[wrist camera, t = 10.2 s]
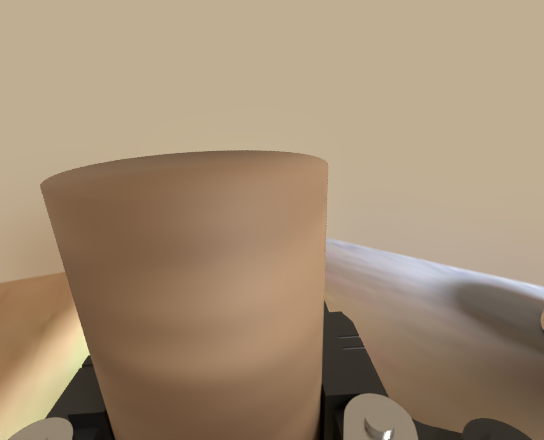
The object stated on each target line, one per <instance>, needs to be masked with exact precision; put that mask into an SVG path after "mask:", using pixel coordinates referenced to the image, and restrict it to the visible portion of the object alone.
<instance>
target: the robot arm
mask: <svg viewBox="0 0 544 440" xmlns="http://www.w3.org/2000/svg"><path fill="white" fill-rule="evenodd" d="M8 440H115V437H114V433H113V430H112V427H111V423H110V420H109V416H108V413H107V410H106V406H105V403H104V400H103V396H102V393H101V390H100V386H99V383H98V379H97V376H96V373H95V369H94V366H93V363H92V359H91V356H90V355H89V356H88V357H87V358H86V360H85V361H84V363H83V364H82V368H80V369H79V370H78V372H77V373H76V374H75V376H74V377H73V379H72V380H71V382H70V383H69V385H68V386H67V388H66V389H65V390H64V392H63V393H62V395H61V396H60V398H59V399H58V401H57V402H56V404H55V405H54V406H53V408H52V409H51V411H50V412H49V414H48V415H47V417H46V418H45V419H43V420H40V421H37V422H35V423H33V424H31V425H29V426H27V427H25V428H23V429H22V430H20V431H19V432H17V433H16V434H14V435H13V436H12V437H11V438H9V439H8ZM320 440H532V439H530V438H529V437H528V436H527V435H525V434H524V433H522V432H521V431H519V430H518V429H516V428H514V427H512V426H510V425H508V424H506V423H503V422H500V421H497V420H493V419H487V418H480V419H475V420H472V421H470V422H469V423H467V425H466V426H465V428H464V430H463V434H462V433H458V432H454V431H449V430H445V429H441V428H437V427H432V426H429V425H425V424H422V423H420V422H418V421H416V420H414V419H412V418H411V417H410V416H409V414H408V413H407V412H406V411H405V410H404V409H403V408H402V407H401V406H400V405H399V404H398V403H396V402H395V401H393V400H391V399H390V398H389V397H388V395H387V393H386V391H385V389H384V387H383V385H382V382H381V380H380V378H379V376H378V374H377V372H376V370H375V368H374V366H373V364H372V362H371V359H370V357H369V355H368V353H367V351H366V349H364V345H363V343H362V341H361V338H359V334H358V332H357V330H356V328H355V326H354V324H353V322H352V321H351V320H350V319H349V318H348V317H346V316H345V315H344V314H343V313H342V312H329V311H328V308H327V306H326V303H325V301H324V319H323V352H322V386H321V419H320Z"/></svg>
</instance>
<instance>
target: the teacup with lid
mask: <svg viewBox="0 0 544 440" xmlns="http://www.w3.org/2000/svg"><path fill="white" fill-rule="evenodd" d="M541 326H542V328H543V330H544V309H543V312H542V316H541Z"/></svg>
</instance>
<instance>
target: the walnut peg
mask: <svg viewBox="0 0 544 440" xmlns="http://www.w3.org/2000/svg"><path fill="white" fill-rule="evenodd" d="M327 182H328V163H327V162H326V161H325V160H323V159H321V158H318V157H315V156H310V155H306V154H298V153H290V152H279V151H249V150H246V151H206V152H188V153H175V154H164V155H155V156H145V157H138V158H130V159H123V160H116V161H111V162H105V163H99V164H94V165H89V166H85V167H80V168H76V169H72V170H69V171H65V172H62V173H59V174H57V175H54V176H52V177H49V178H48V179H46V180H44V181H43V182H42V183H41V184H40V186H41V191H42V194H43V198H44V201H45V205H46V208H47V211H48V214H49V218H50V221H51V225H52V228H53V231H54V234H55V238H56V241H57V245H58V248H59V252H60V255H61V258H62V262H63V265H64V268H65V272H66V275H67V279H68V282H69V285H70V289H71V292H72V295H73V299H74V302H75V305H76V309H77V312H78V316H79V319H80V322H81V326H82V329H83V332H84V336H85V339H86V342H87V346H88V349H89V353H90V356H91V359H92V363H93V366H94V369H95V373H96V376H97V379H98V383H99V386H100V390H101V393H102V396H103V400H104V403H105V406H106V410H107V413H108V416H109V420H110V423H111V427H112V430H113V433H114V437H115V440H320V419H321V386H322V352H323V319H324V285H325V251H326V218H327V184H328V183H327Z"/></svg>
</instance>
